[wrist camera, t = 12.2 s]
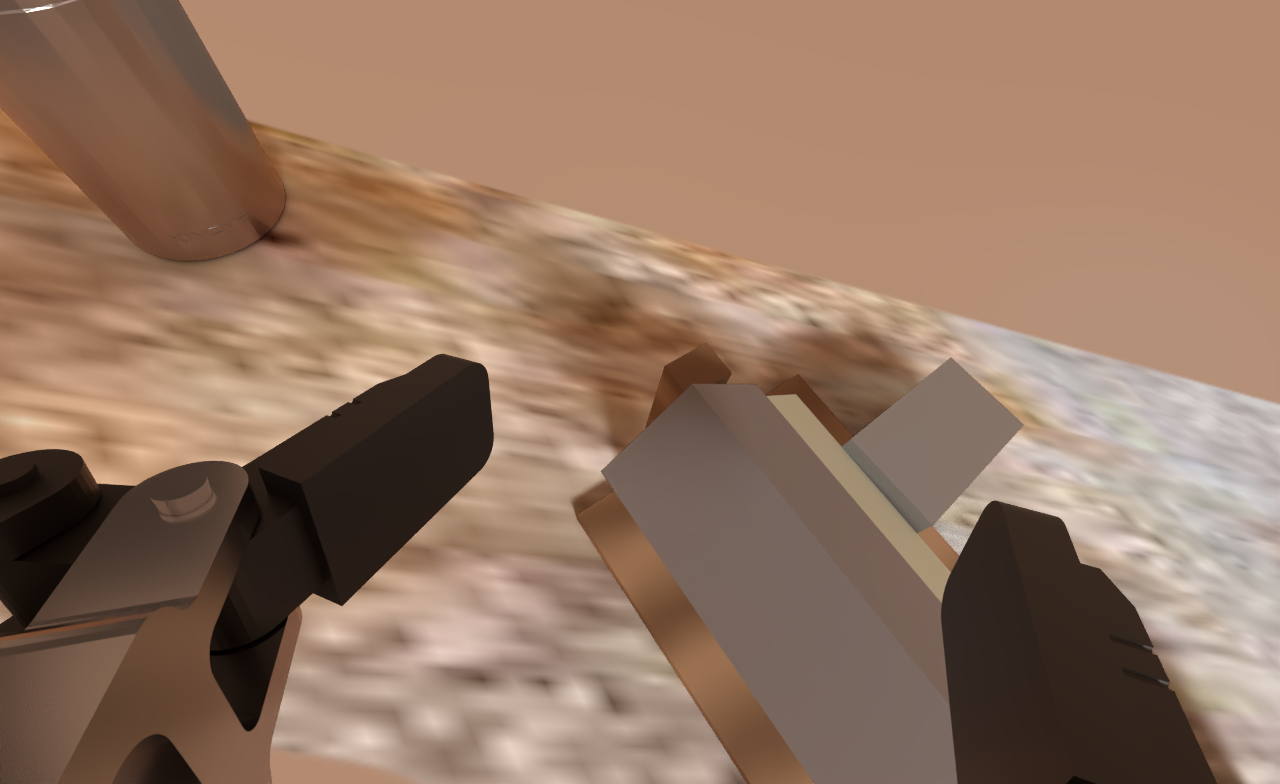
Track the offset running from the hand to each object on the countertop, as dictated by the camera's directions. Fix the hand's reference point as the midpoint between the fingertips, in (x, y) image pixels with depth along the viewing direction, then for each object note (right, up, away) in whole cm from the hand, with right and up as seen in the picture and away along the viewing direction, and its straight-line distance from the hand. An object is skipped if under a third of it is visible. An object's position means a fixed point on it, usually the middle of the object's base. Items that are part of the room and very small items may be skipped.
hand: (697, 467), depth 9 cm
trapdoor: (+5, -5, +11) cm, 13 cm away
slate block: (+10, -4, +18) cm, 21 cm away
